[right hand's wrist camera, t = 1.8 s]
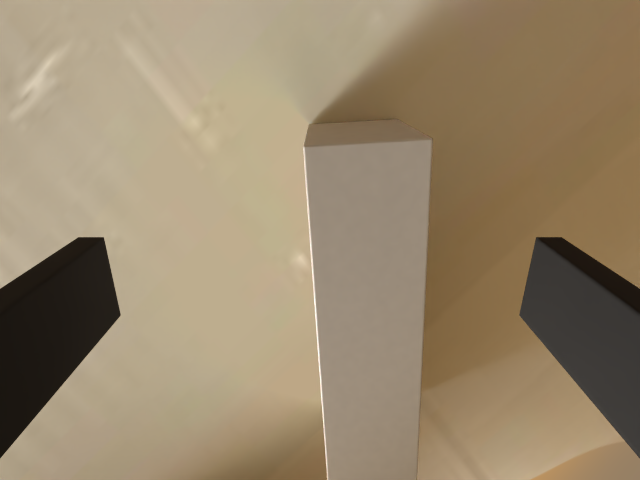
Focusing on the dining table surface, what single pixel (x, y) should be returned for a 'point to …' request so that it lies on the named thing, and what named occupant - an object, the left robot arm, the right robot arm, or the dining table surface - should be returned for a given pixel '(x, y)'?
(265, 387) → the dining table surface
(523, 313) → the right robot arm
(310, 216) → the bar
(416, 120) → the dining table surface
